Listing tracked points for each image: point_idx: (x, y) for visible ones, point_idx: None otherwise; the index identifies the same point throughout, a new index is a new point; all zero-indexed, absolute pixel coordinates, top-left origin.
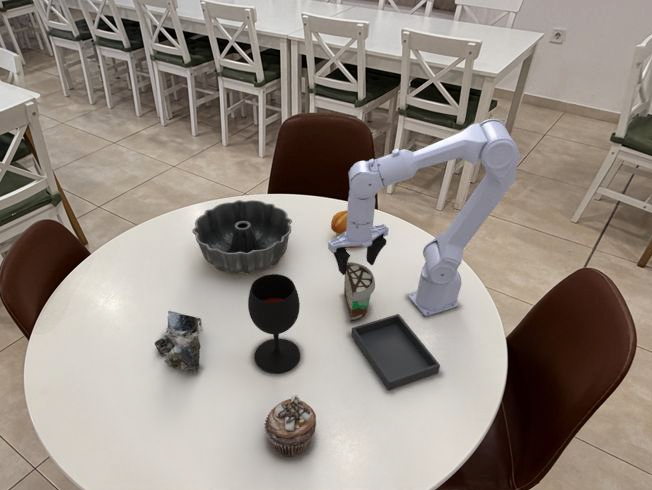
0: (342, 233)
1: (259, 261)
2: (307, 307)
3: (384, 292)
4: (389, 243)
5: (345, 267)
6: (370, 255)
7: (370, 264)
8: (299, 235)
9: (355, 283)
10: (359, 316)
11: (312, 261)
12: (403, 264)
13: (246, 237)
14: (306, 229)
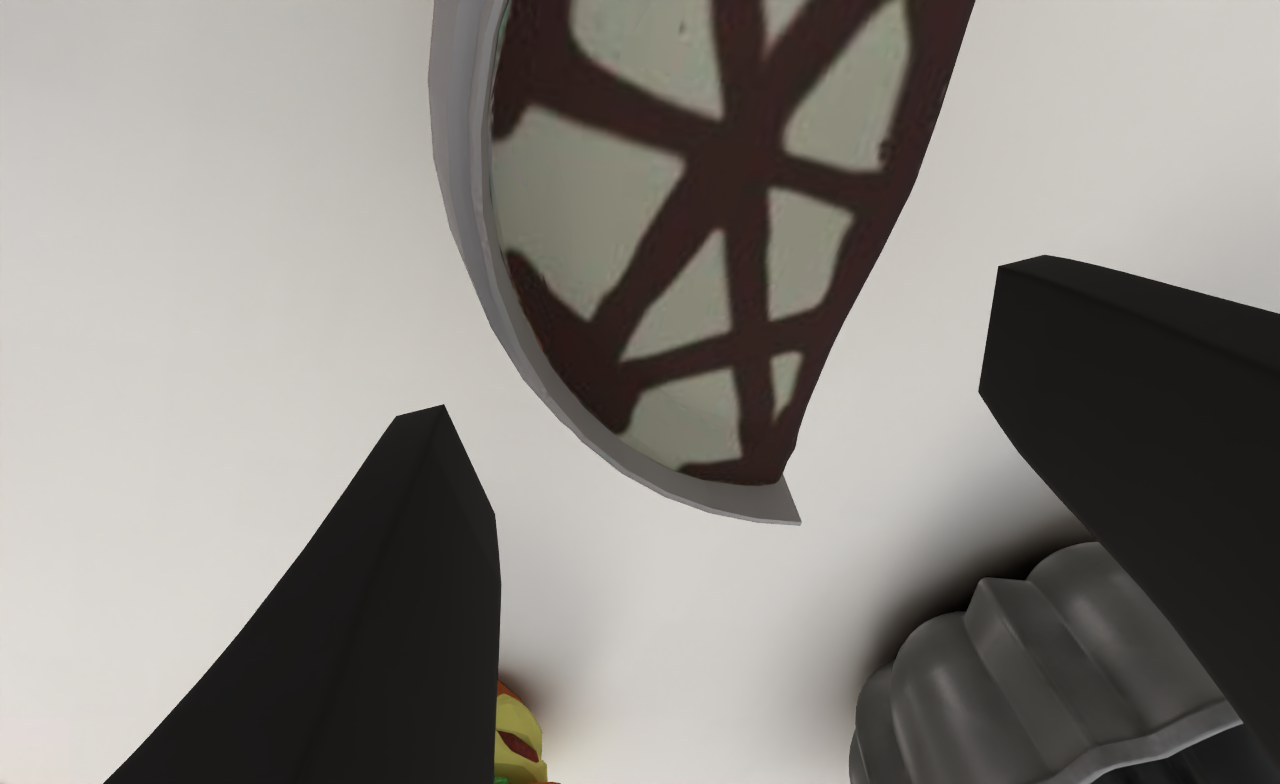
0: (512, 778)
1: None
2: (1024, 169)
3: (268, 197)
4: (162, 692)
5: (1214, 325)
6: (447, 608)
7: (453, 427)
8: (718, 741)
9: (878, 26)
10: None
11: (742, 587)
12: (36, 510)
13: (1164, 768)
14: (665, 771)
